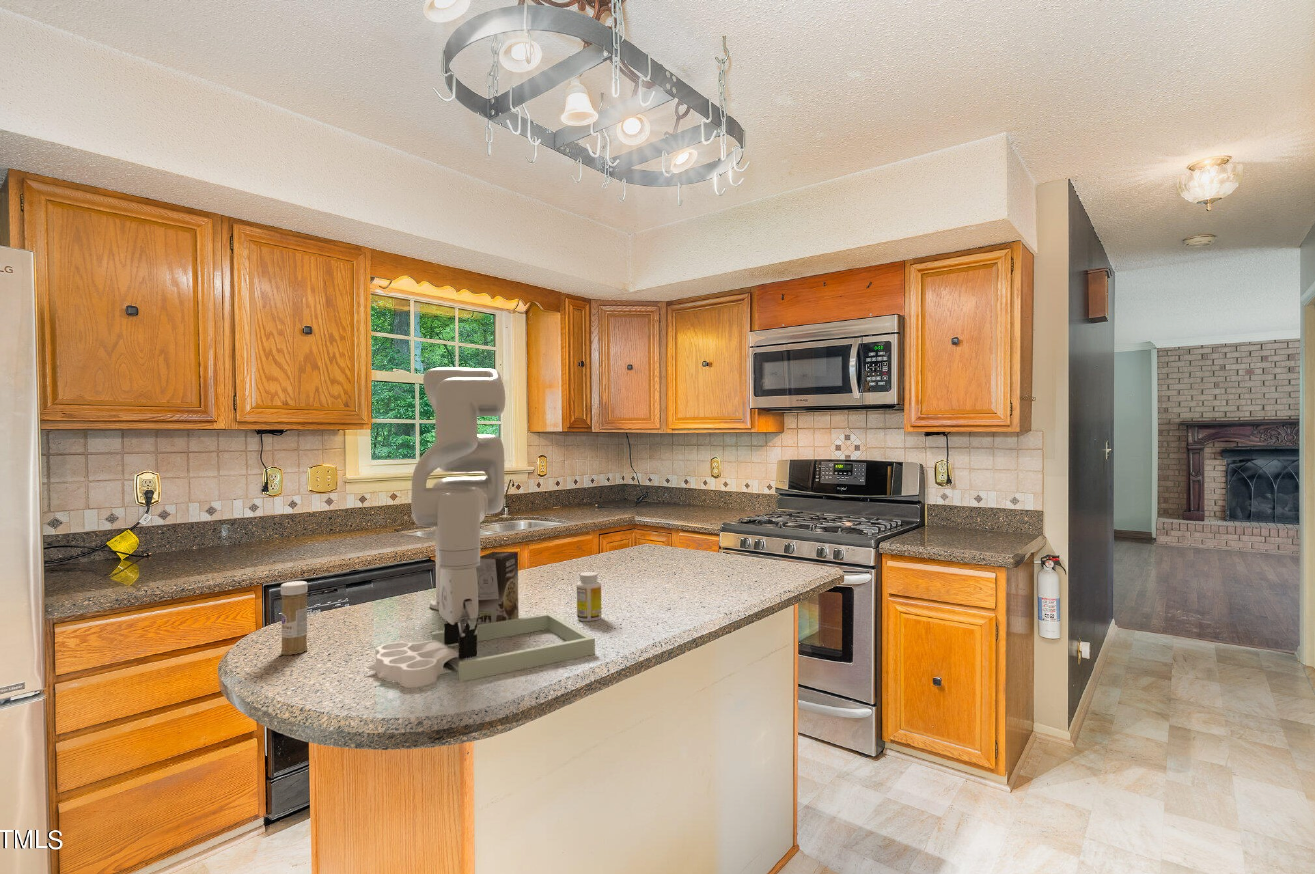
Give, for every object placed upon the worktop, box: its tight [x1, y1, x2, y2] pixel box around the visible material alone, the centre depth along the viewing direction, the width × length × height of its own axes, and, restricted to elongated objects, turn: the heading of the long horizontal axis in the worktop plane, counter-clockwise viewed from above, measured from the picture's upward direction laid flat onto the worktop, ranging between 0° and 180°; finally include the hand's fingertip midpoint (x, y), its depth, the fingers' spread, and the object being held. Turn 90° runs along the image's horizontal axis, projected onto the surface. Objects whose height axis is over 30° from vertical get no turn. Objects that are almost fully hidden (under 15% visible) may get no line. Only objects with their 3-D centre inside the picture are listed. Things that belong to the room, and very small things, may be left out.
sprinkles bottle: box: [280, 580, 308, 656], centre depth 126 cm, size 5×5×14 cm
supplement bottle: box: [576, 571, 603, 622], centre depth 147 cm, size 6×6×10 cm
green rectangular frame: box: [430, 612, 596, 683], centre depth 125 cm, size 21×25×3 cm
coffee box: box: [476, 551, 520, 625], centre depth 140 cm, size 9×6×16 cm
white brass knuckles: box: [366, 640, 468, 688], centre depth 116 cm, size 3×18×15 cm
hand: (460, 650), depth 120 cm, fingers open, 9 cm apart
